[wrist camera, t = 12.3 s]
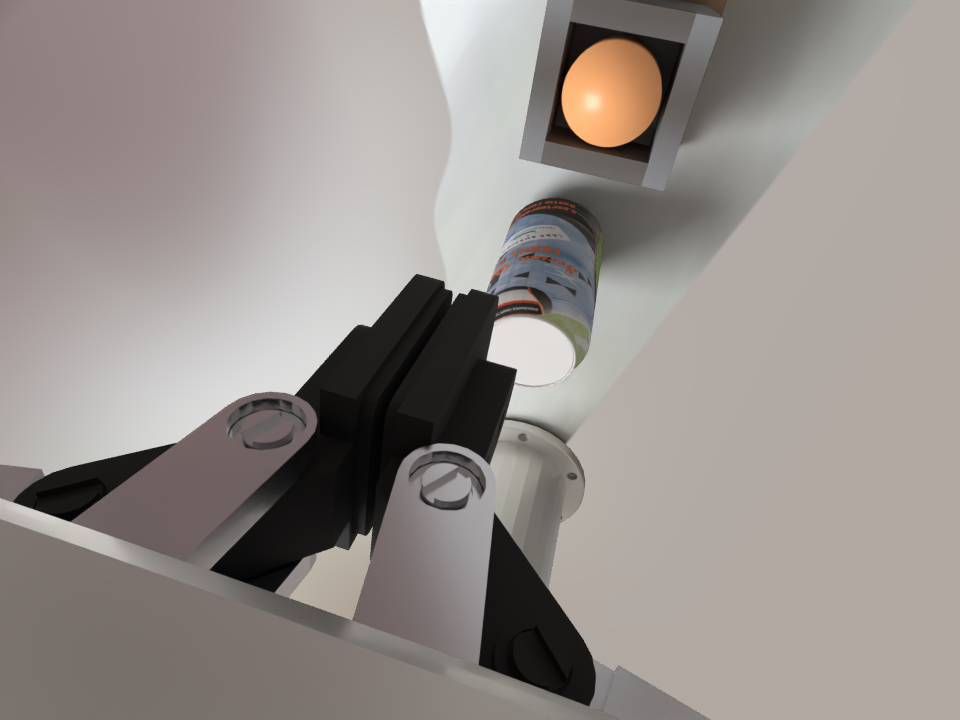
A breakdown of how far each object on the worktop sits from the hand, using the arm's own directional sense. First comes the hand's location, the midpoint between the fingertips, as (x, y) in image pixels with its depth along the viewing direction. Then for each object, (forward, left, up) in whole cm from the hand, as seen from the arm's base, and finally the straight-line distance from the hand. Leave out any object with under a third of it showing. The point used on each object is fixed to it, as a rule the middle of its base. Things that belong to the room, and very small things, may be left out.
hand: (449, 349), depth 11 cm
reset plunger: (+2, -2, -19) cm, 19 cm away
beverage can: (-9, -1, -26) cm, 27 cm away
